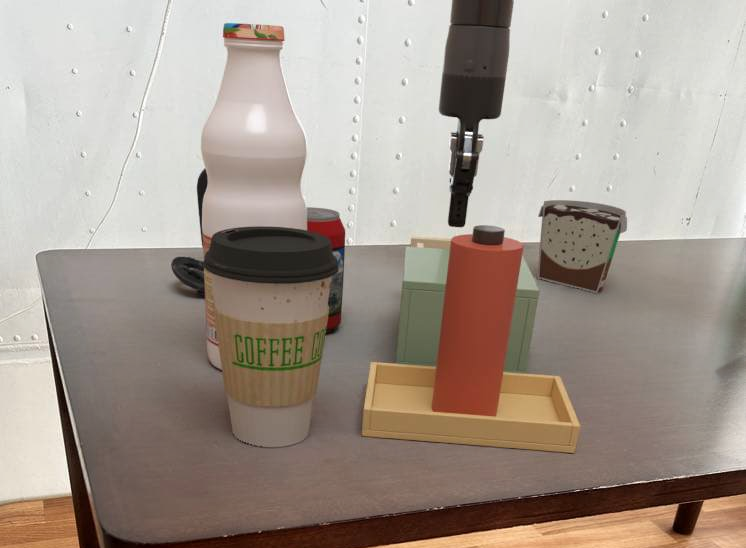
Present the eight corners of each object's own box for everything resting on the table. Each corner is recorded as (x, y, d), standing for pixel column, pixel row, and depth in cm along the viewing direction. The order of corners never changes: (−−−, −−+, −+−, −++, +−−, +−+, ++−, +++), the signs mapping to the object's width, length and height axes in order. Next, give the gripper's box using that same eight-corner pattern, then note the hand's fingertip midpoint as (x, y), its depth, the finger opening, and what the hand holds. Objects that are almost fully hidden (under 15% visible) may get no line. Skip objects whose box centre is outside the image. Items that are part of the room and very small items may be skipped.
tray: (555, 400, 75) (560, 376, 74) (574, 453, 66) (580, 425, 64) (369, 386, 76) (370, 361, 75) (361, 436, 66) (363, 408, 65)
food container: (629, 288, 112) (647, 211, 106) (607, 296, 108) (625, 216, 102) (550, 270, 119) (564, 196, 113) (527, 276, 115) (540, 200, 109)
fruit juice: (187, 363, 79) (169, 19, 64) (245, 339, 86) (241, 23, 71) (267, 385, 75) (267, 24, 60) (321, 358, 82) (334, 28, 67)
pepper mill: (494, 400, 73) (522, 223, 65) (498, 426, 68) (529, 238, 60) (431, 395, 73) (451, 218, 65) (431, 420, 68) (453, 233, 60)
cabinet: (398, 324, 92) (405, 246, 88) (510, 333, 92) (523, 254, 87) (395, 369, 80) (403, 280, 76) (524, 379, 79) (539, 290, 75)
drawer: (406, 283, 105) (411, 227, 101) (495, 289, 104) (504, 234, 101) (404, 326, 89) (410, 262, 86) (508, 334, 89) (519, 270, 85)
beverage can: (282, 337, 87) (284, 218, 80) (277, 318, 92) (277, 205, 86) (345, 337, 88) (351, 219, 81) (335, 318, 93) (340, 206, 87)
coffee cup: (289, 469, 61) (293, 261, 53) (184, 436, 65) (173, 239, 57) (352, 425, 68) (364, 237, 60) (254, 398, 72) (253, 219, 64)
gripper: (511, 76, 91) (488, 238, 100) (501, 71, 102) (481, 218, 111) (443, 71, 91) (427, 234, 100) (441, 68, 102) (426, 214, 111)
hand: (456, 225), depth 105 cm, fingers closed
